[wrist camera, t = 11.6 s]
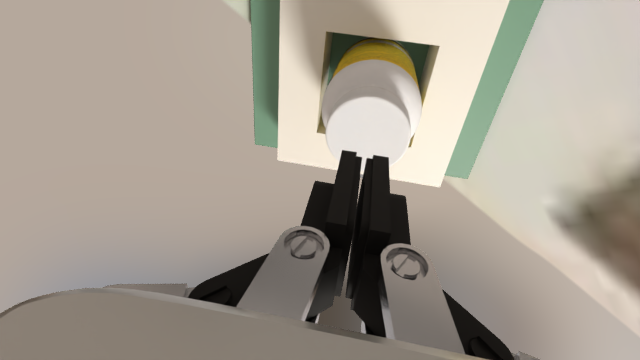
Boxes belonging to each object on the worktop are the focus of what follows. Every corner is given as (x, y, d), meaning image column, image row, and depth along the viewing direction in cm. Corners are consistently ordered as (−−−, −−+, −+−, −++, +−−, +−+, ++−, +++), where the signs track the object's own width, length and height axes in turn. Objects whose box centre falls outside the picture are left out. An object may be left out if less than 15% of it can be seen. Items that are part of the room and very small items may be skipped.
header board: (549, -24, 19) (585, -22, 15) (465, 175, 27) (477, 205, 23) (252, -56, 20) (225, -60, 17) (257, 141, 28) (239, 164, 25)
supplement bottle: (330, 42, 22) (299, 87, 14) (412, 27, 21) (428, 67, 13) (342, 115, 25) (322, 187, 17) (415, 106, 24) (430, 180, 16)
